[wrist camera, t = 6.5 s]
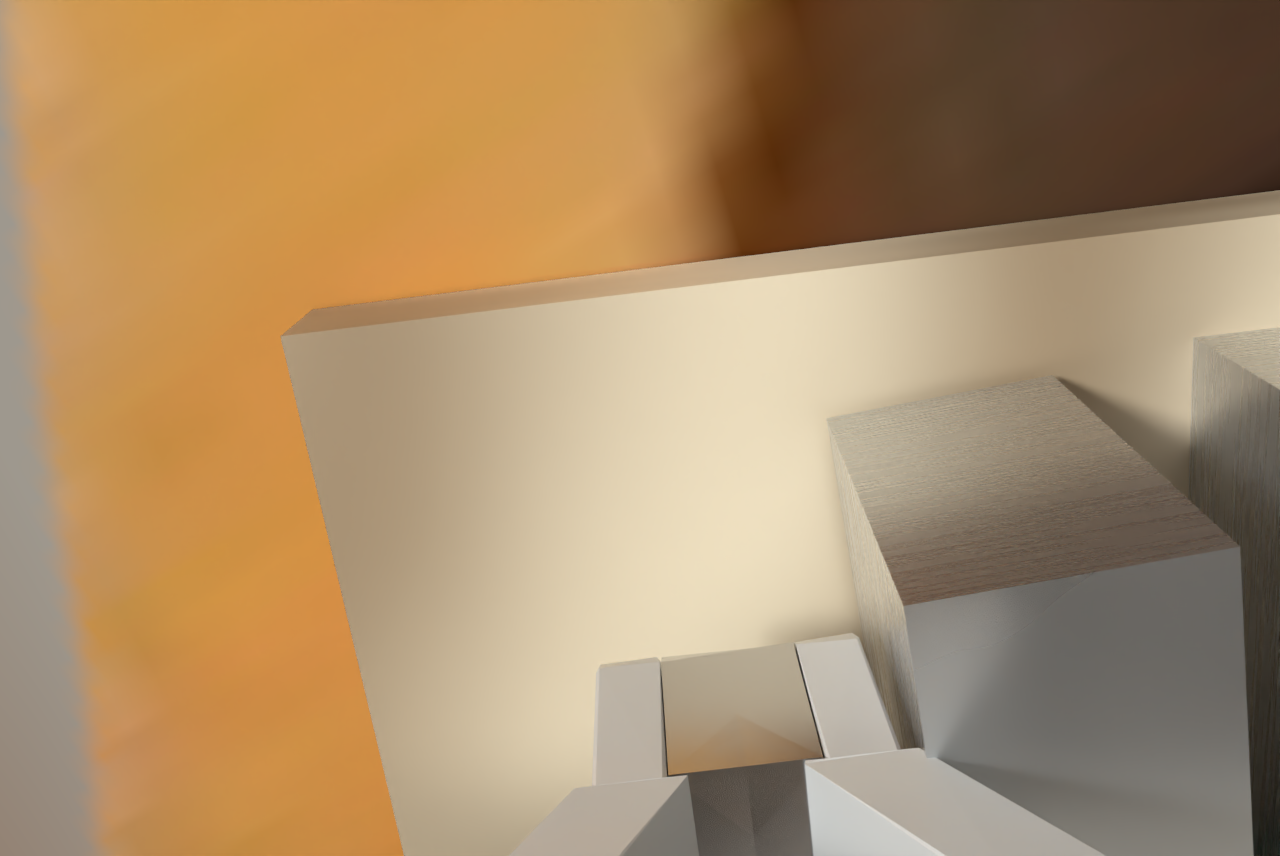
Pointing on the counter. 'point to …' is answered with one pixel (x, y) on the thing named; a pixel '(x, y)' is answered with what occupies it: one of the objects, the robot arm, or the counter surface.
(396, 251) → the counter surface
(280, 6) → the counter surface
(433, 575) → the board
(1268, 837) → the tongs fixed arm
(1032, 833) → the robot arm
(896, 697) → the tong arm
